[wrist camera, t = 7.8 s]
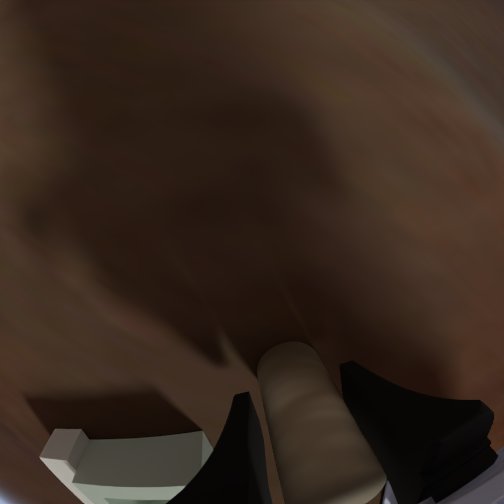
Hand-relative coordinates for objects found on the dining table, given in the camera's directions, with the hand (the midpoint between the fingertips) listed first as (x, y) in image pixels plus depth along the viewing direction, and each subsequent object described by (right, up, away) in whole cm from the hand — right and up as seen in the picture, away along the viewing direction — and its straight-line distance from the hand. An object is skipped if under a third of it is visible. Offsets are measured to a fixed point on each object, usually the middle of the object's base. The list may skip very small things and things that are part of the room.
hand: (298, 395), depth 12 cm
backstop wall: (-13, -10, +3) cm, 16 cm away
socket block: (-8, -9, +3) cm, 12 cm away
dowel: (0, 0, +2) cm, 2 cm away
